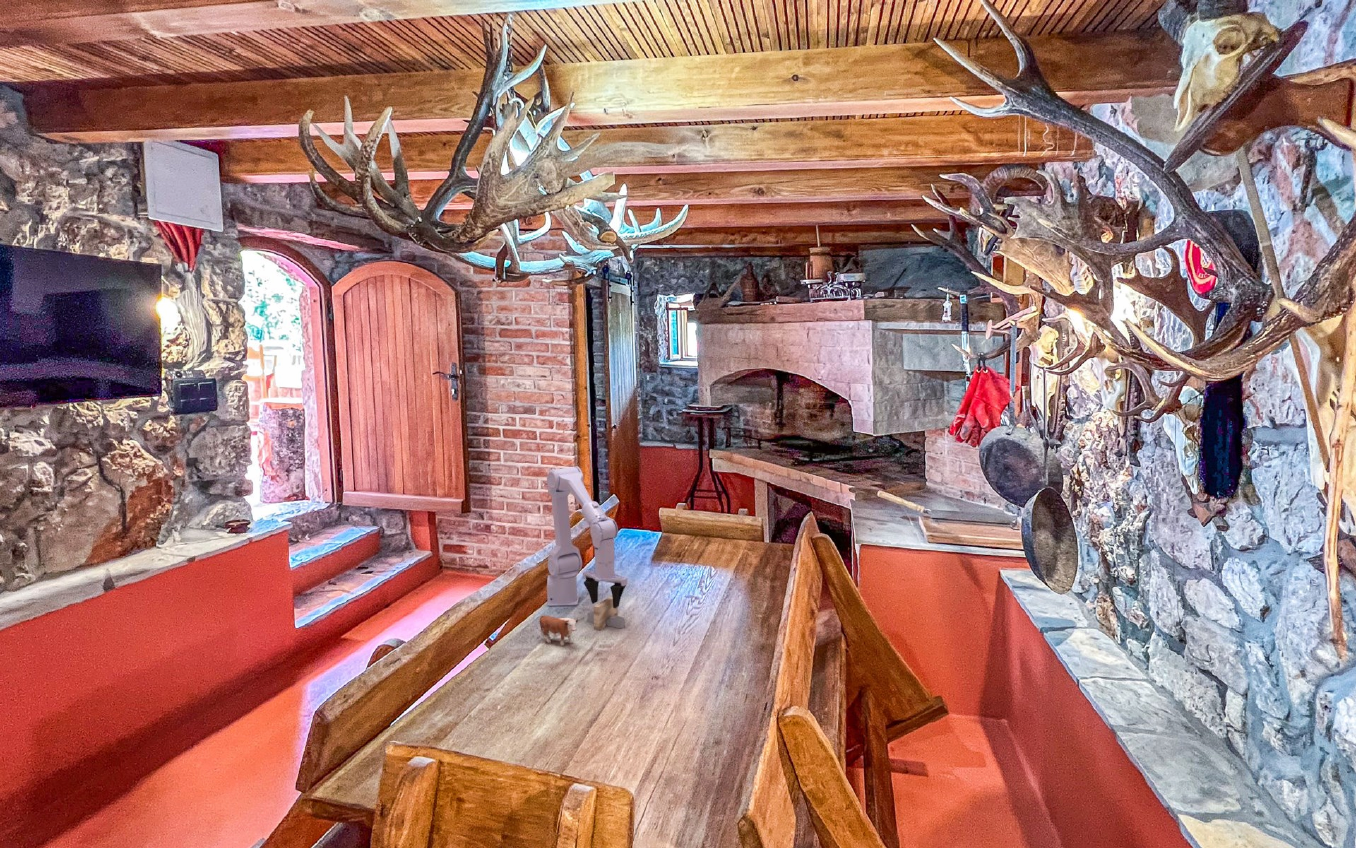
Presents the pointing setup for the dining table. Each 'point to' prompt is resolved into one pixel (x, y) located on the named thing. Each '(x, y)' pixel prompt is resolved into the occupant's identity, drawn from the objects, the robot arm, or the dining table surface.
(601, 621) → the beige slab block
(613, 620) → the slate rail
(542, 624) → the bull figurine
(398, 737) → the dining table surface
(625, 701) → the dining table surface
